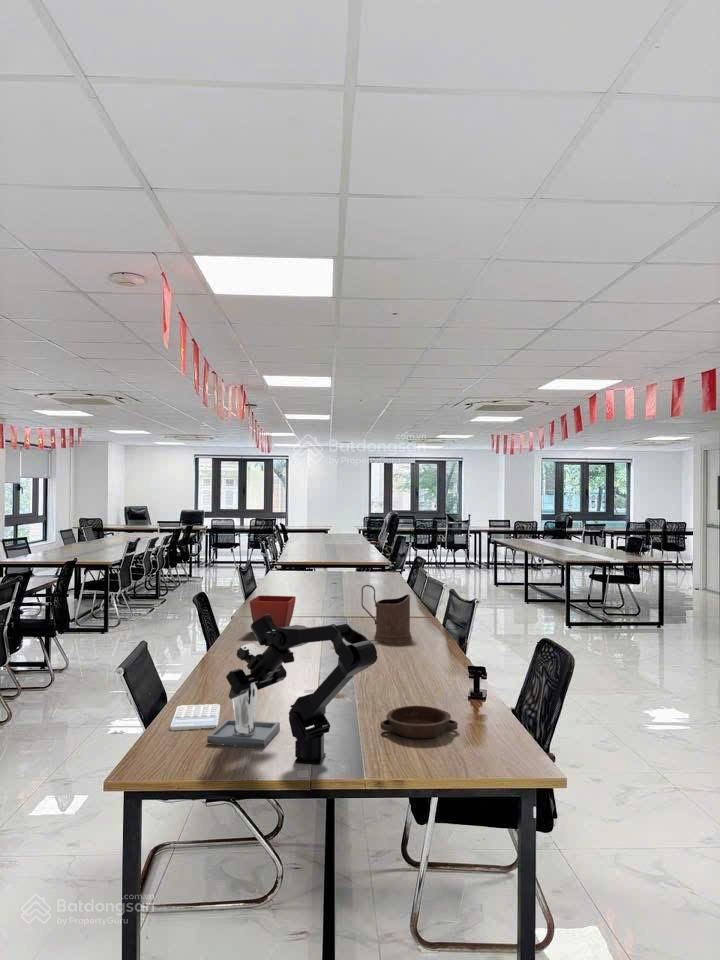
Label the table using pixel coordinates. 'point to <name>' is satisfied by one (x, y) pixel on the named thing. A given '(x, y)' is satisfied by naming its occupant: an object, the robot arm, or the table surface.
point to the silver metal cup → (245, 712)
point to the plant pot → (273, 609)
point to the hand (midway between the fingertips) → (241, 693)
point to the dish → (418, 722)
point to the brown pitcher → (392, 619)
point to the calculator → (195, 717)
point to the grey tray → (257, 740)
